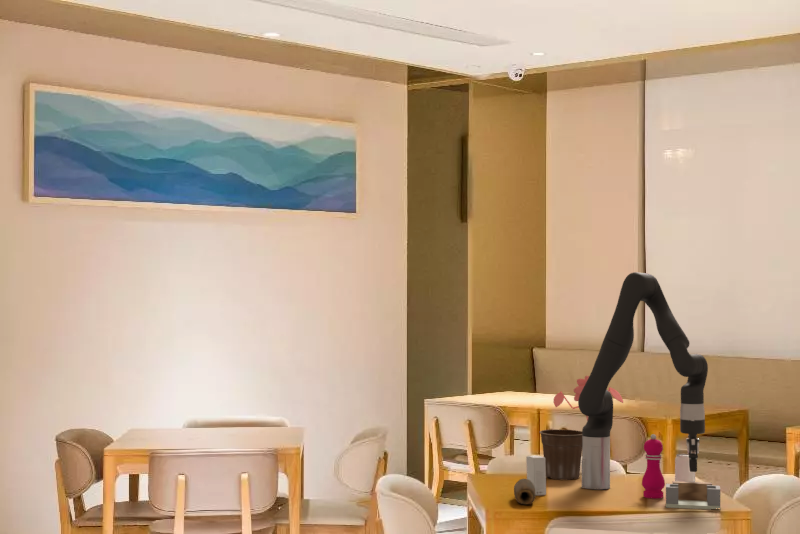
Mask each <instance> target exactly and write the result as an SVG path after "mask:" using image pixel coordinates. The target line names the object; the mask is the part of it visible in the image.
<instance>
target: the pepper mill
mask: <svg viewBox="0 0 800 534" xmlns="http://www.w3.org/2000/svg"><path fill="white" fill-rule="evenodd" d="M643 450H644V451H645V453H646V454H645V459H646V470H645V472H644V474H643V476H642V479H641V485H642V487H643V488H644V490H643V493H642V494H643V497H644V498H645V499H656V500H657V499H663V498H664V491H663V489H664V488H665V487H666V482H665V477H664V475H663V473H662V470H661V465H660V464H661V460H662V452H663V450H664V446H663V443H662V442H661V440H659V439H657V435H656V434H654V433H653V434H651V435H650V438H649V439H647V440H646V441H645V442H644V444H643Z"/></svg>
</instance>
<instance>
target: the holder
mask: <svg viewBox="0 0 800 534" xmlns="http://www.w3.org/2000/svg"><path fill="white" fill-rule="evenodd" d="M665 508H670V509H671V508H672V509H689V510H690V509H691V510H692V509H694V510H695V509H696V510H711V509H716V508H717V509H718V508H720V509H721V486H720V485H713V484H712V485H707V501H694V500H678V484H673V483H665Z"/></svg>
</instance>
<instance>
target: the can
mask: <svg viewBox="0 0 800 534" xmlns="http://www.w3.org/2000/svg"><path fill="white" fill-rule="evenodd" d="M674 481H683V482H696V472H690V467H689V455H688V453H677V454H676V457H675V458H674Z"/></svg>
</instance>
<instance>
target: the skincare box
mask: <svg viewBox="0 0 800 534" xmlns="http://www.w3.org/2000/svg"><path fill="white" fill-rule="evenodd" d="M525 457H526V458H525V462H526V463H525V464H526V479H528V480H530V481H531V482H532V483H533V485H534V487H535V493H536V496H546V495H547V477H546V464H545V457H544V456H541V455H534V454H533V455H527V456H525Z"/></svg>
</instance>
